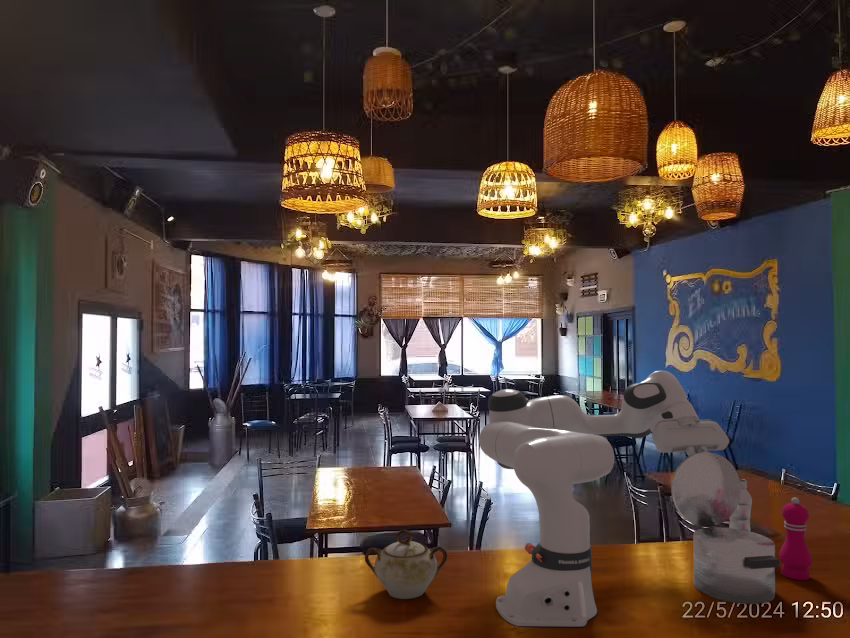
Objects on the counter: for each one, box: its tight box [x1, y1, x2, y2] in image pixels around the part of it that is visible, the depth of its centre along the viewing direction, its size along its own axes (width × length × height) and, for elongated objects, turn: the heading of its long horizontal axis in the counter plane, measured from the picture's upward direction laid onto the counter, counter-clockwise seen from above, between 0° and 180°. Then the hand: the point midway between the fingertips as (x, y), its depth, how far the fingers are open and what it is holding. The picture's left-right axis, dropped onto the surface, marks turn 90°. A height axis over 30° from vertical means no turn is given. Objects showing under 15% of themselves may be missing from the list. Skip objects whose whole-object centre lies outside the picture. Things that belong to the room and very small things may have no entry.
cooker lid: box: [670, 451, 741, 528], centre depth 171 cm, size 19×19×3 cm
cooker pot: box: [692, 526, 780, 605], centre depth 159 cm, size 18×22×12 cm
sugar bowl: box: [364, 529, 448, 600], centre depth 156 cm, size 20×15×15 cm
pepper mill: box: [778, 497, 813, 581], centre depth 168 cm, size 7×7×20 cm
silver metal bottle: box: [728, 478, 753, 532], centre depth 186 cm, size 6×7×20 cm
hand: (702, 463), depth 172 cm, fingers closed, pressing on cooker lid
